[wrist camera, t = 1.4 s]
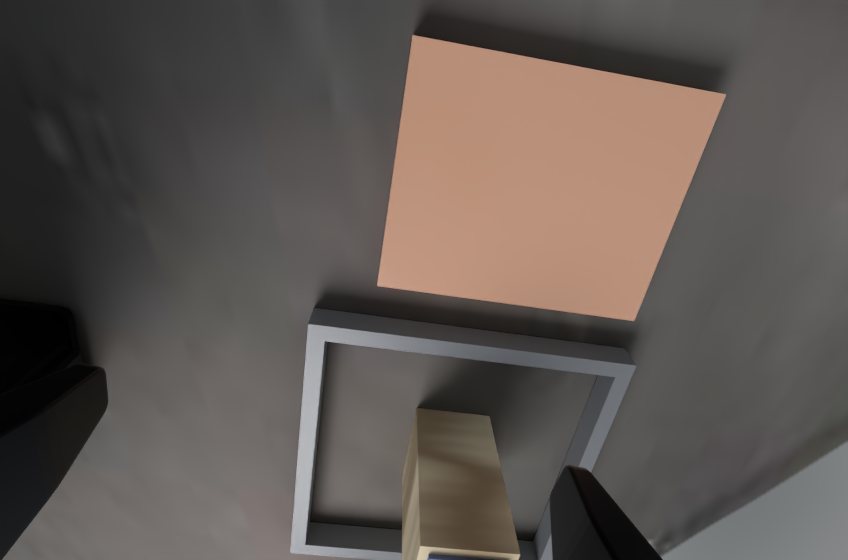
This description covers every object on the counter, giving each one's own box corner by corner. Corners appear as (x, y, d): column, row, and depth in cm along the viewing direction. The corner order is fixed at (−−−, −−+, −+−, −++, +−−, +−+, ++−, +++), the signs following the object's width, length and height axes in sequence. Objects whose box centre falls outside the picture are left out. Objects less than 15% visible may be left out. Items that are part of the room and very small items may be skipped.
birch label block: (402, 475, 28) (401, 628, 21) (416, 407, 26) (420, 551, 19) (470, 482, 28) (492, 634, 21) (489, 415, 26) (521, 559, 19)
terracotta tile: (378, 274, 22) (377, 285, 21) (412, 35, 18) (412, 34, 17) (623, 308, 24) (634, 321, 23) (708, 91, 19) (726, 94, 18)
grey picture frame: (295, 529, 30) (290, 552, 28) (314, 307, 23) (308, 323, 22) (541, 550, 31) (547, 573, 30) (623, 348, 25) (636, 365, 23)
